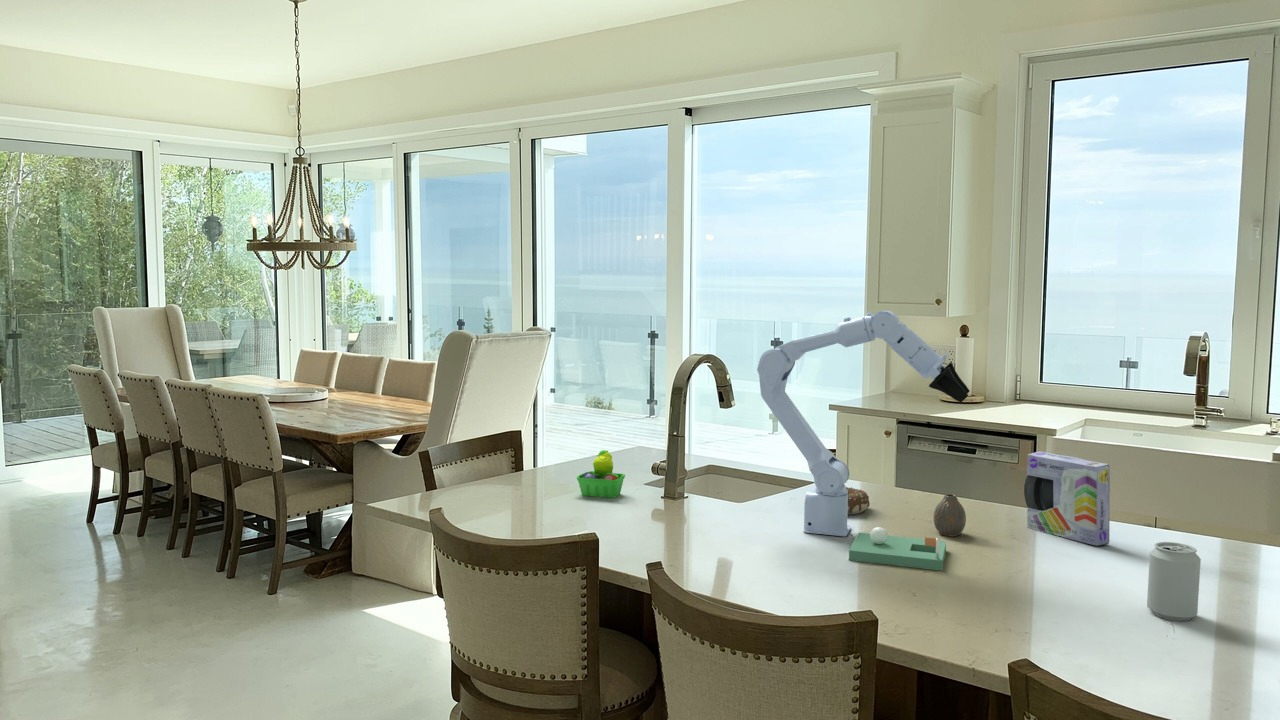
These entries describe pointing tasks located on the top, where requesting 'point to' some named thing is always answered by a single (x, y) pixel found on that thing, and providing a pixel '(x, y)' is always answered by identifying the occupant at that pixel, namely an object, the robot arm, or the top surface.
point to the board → (897, 552)
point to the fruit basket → (601, 478)
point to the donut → (857, 501)
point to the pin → (933, 544)
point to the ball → (878, 535)
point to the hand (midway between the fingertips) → (965, 396)
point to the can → (1173, 581)
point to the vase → (949, 516)
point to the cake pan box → (1068, 497)
